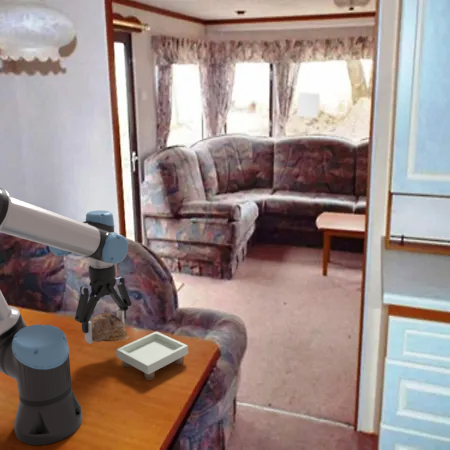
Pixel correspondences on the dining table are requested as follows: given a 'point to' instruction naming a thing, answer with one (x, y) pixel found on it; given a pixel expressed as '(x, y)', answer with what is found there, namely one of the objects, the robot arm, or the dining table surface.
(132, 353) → the shallow white square tray
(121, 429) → the dining table surface
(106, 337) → the seashell
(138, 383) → the dining table surface
